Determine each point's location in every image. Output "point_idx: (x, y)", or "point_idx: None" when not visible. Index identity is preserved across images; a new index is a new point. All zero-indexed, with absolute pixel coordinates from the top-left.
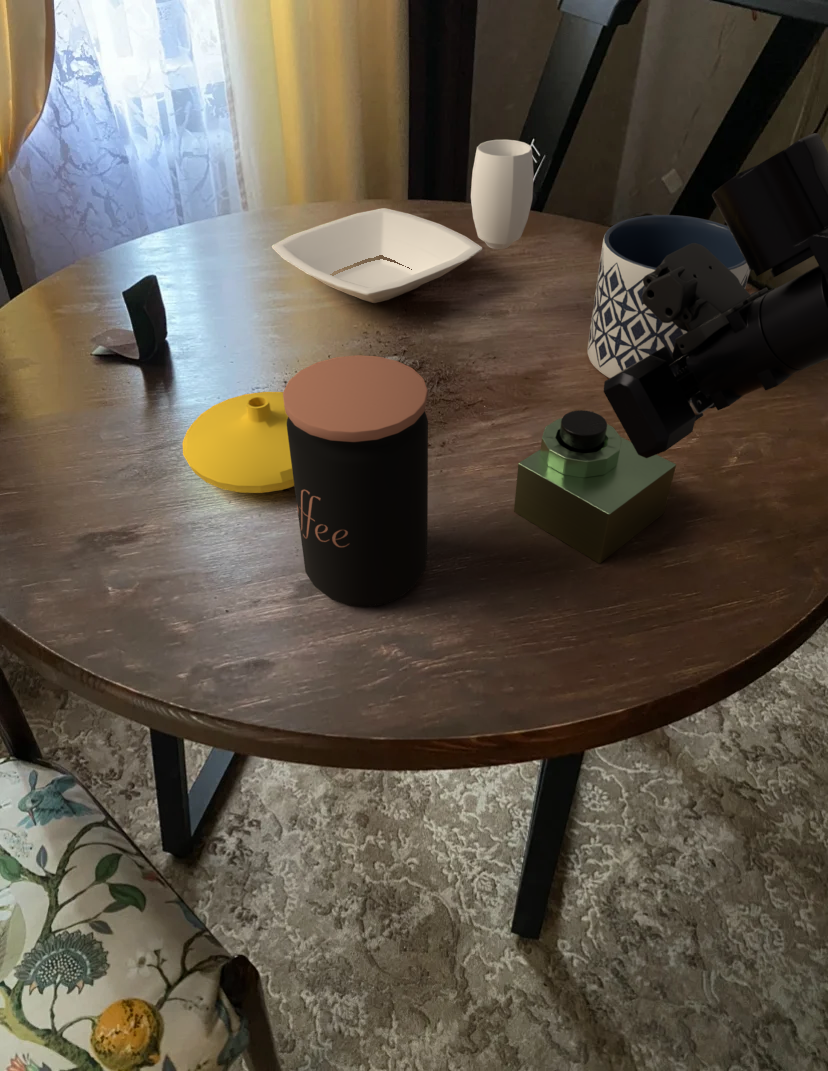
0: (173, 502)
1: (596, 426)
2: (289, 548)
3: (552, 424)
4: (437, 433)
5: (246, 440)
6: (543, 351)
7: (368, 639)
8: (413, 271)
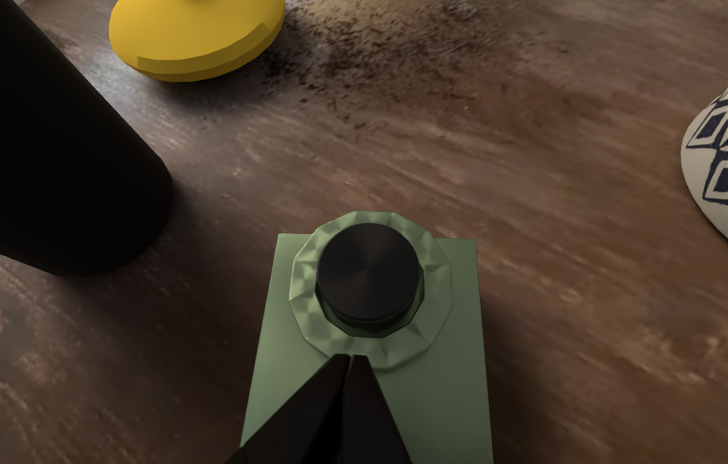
0: None
1: (371, 298)
2: None
3: (368, 215)
4: (374, 108)
5: (149, 3)
6: (640, 76)
7: (4, 293)
8: None
